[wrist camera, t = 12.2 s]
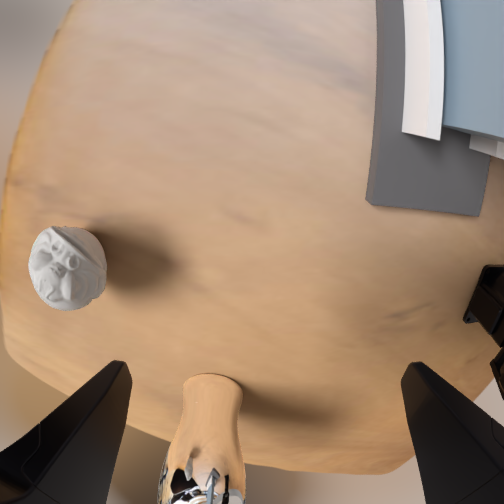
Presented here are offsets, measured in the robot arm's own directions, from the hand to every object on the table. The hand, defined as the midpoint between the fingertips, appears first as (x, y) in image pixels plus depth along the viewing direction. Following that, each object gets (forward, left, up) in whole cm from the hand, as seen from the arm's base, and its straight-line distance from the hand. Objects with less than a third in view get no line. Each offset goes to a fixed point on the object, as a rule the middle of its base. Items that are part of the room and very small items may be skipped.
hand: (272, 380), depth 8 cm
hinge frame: (-12, -15, -13) cm, 23 cm away
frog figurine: (+13, +2, -13) cm, 19 cm away
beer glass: (+4, +18, -13) cm, 23 cm away
